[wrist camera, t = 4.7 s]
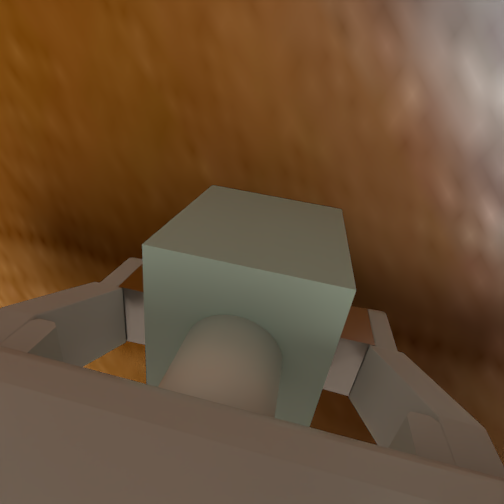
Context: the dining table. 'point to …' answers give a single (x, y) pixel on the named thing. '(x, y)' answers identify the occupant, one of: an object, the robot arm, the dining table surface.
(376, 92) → the dining table surface
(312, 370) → the block
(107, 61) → the dining table surface
